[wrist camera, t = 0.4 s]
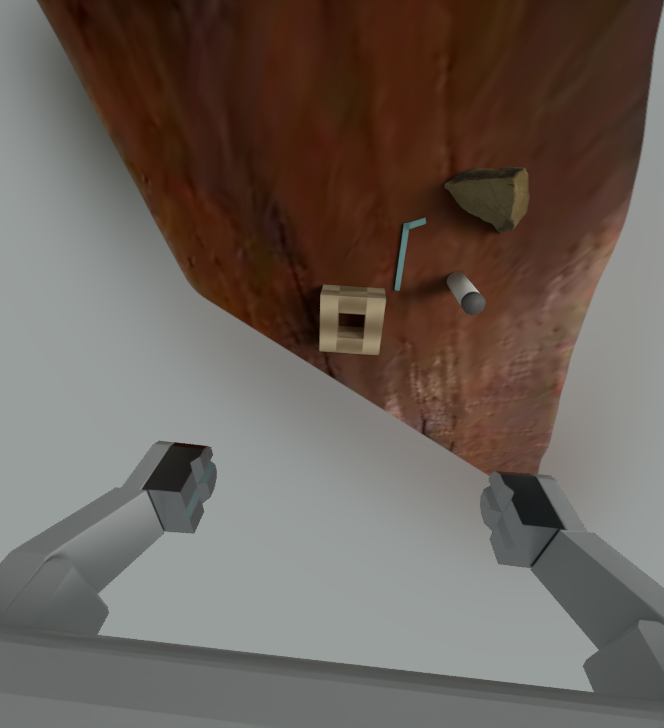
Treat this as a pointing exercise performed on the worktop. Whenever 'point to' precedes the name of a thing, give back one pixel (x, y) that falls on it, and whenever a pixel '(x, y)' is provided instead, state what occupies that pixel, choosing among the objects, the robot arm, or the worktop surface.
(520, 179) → the rock
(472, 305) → the long grey cylinder
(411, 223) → the hex key
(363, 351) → the wooden block with hole
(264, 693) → the robot arm
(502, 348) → the worktop surface
